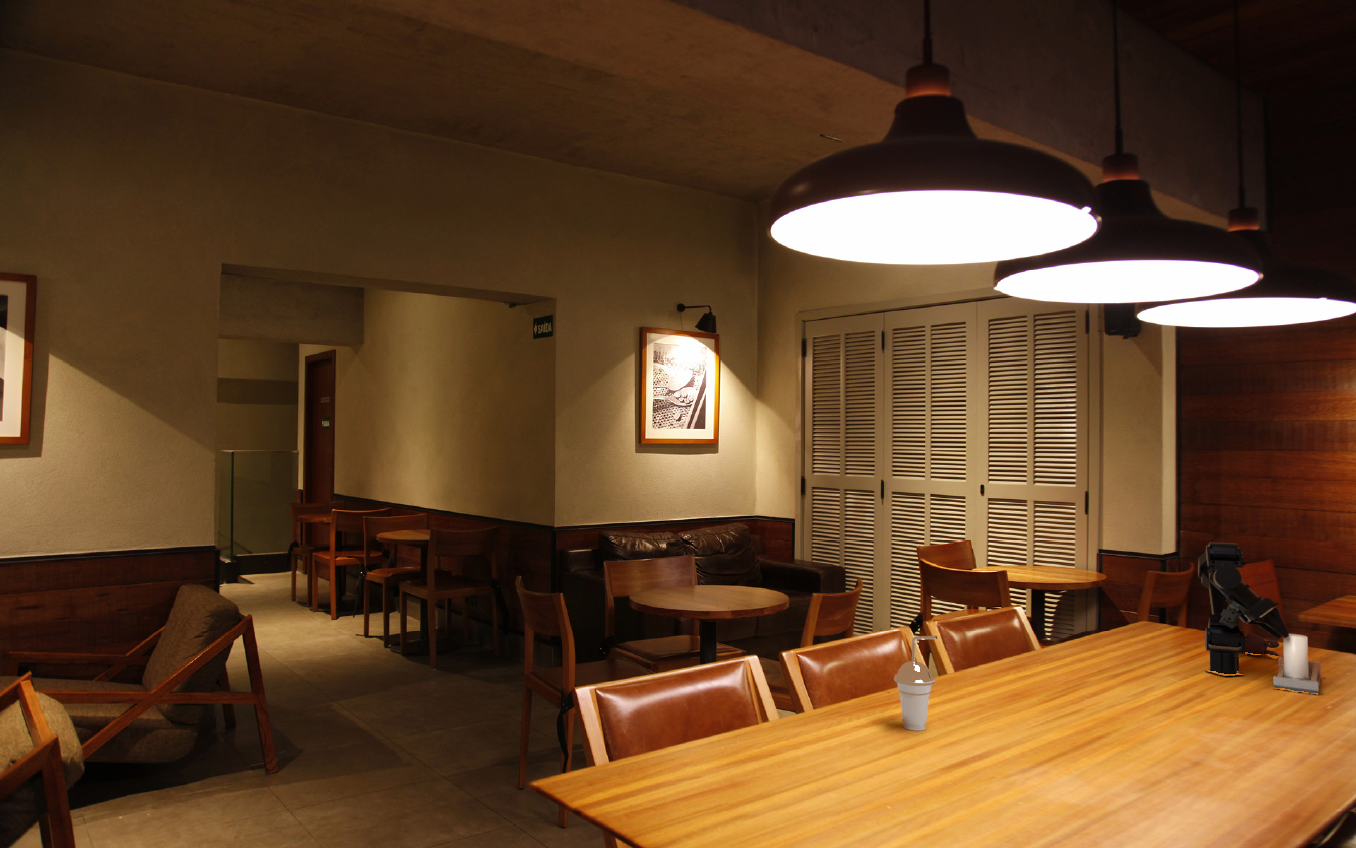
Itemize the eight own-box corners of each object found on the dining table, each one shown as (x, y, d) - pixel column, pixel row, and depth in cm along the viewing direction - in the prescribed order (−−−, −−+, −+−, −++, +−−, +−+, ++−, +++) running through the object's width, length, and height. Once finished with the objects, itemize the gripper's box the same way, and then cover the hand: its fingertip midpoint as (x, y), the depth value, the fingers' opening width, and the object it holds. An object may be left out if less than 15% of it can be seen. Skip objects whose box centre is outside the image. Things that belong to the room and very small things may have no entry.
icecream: (1216, 631, 258) (1273, 644, 245) (1228, 622, 262) (1284, 635, 249) (1218, 652, 259) (1274, 667, 247) (1229, 643, 263) (1285, 657, 250)
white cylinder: (1308, 687, 213) (1307, 638, 213) (1283, 684, 216) (1282, 635, 216) (1309, 683, 217) (1307, 635, 217) (1284, 680, 220) (1283, 632, 220)
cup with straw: (918, 719, 188) (918, 627, 189) (945, 732, 180) (945, 635, 181) (885, 723, 185) (885, 630, 186) (911, 736, 177) (911, 638, 178)
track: (1318, 695, 210) (1317, 676, 210) (1273, 689, 215) (1273, 671, 216) (1320, 678, 226) (1320, 661, 227) (1279, 673, 232) (1278, 656, 232)
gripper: (1203, 609, 236) (1250, 657, 229) (1211, 605, 219) (1263, 656, 212) (1237, 583, 234) (1286, 631, 227) (1249, 577, 217) (1302, 628, 210)
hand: (1283, 637), depth 219 cm, fingers open, 9 cm apart
